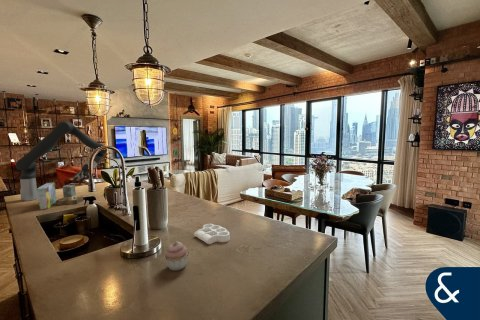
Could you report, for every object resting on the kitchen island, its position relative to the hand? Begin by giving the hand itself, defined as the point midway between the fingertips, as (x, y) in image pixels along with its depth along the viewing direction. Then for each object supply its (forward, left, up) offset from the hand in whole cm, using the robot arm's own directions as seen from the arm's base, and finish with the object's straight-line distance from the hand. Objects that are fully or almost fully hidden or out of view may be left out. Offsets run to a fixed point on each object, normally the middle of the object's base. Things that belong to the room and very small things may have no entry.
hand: (75, 182), depth 180 cm
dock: (-3, -4, -14) cm, 15 cm away
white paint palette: (+102, -85, -15) cm, 133 cm away
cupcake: (+87, -109, -14) cm, 140 cm away
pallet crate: (-3, -4, -11) cm, 12 cm away
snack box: (-16, -8, -14) cm, 23 cm away
